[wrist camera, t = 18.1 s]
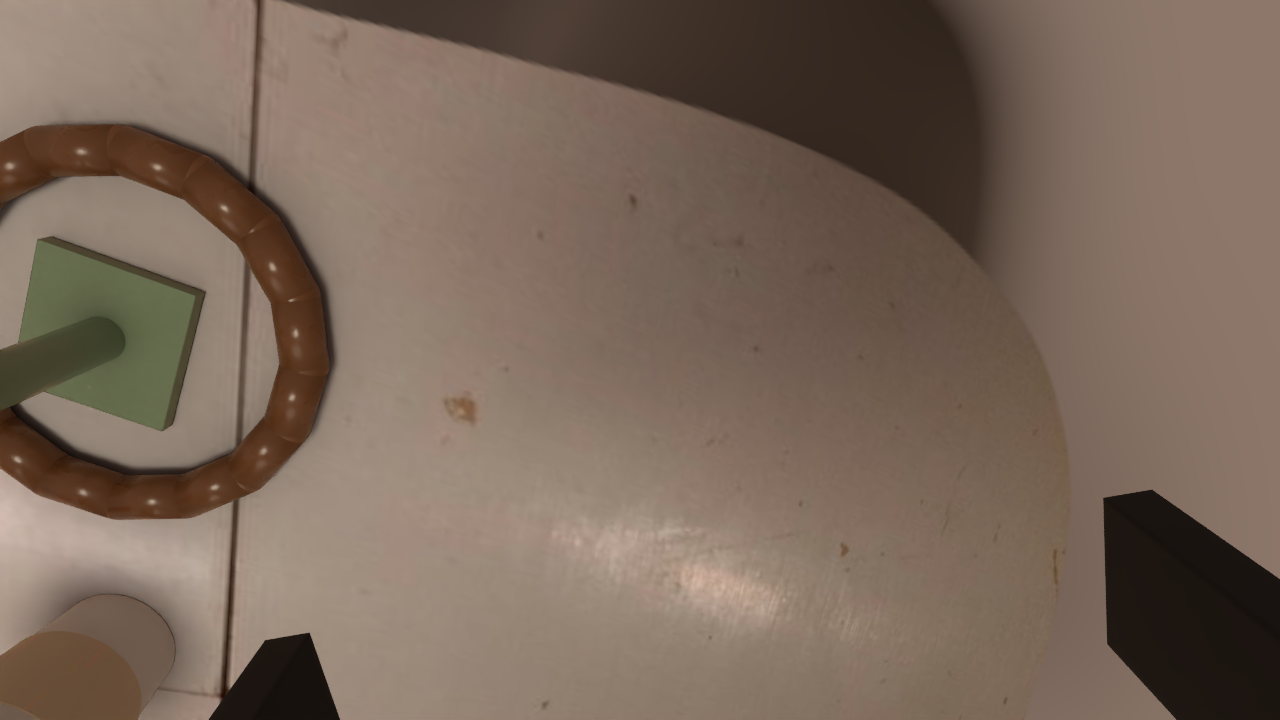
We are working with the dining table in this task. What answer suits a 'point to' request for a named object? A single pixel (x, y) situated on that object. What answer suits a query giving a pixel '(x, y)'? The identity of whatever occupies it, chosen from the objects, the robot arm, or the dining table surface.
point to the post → (101, 336)
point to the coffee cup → (88, 663)
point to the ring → (275, 266)
